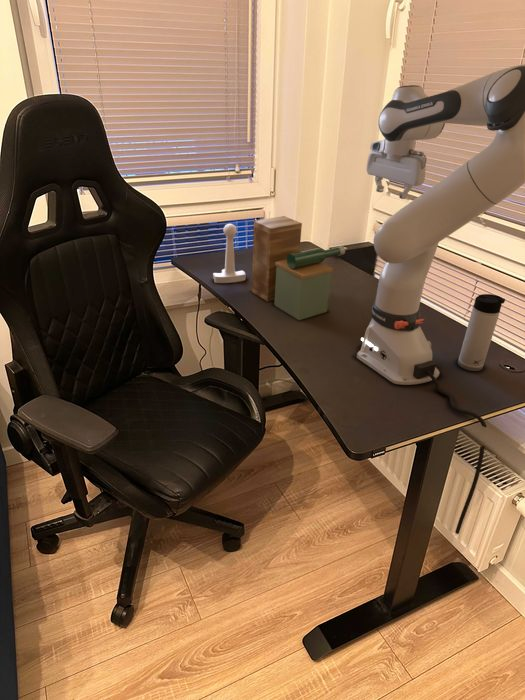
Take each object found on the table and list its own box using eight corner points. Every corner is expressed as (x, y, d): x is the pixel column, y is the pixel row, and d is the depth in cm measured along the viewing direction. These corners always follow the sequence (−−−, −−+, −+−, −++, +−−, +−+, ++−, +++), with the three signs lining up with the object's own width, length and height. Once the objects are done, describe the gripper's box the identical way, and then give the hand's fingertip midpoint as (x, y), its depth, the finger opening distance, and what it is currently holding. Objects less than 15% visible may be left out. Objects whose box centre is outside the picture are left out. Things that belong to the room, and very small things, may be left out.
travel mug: (479, 374, 130) (501, 304, 119) (454, 366, 133) (473, 296, 123) (486, 365, 134) (508, 296, 124) (462, 356, 137) (481, 288, 127)
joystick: (215, 283, 174) (215, 226, 164) (210, 275, 180) (210, 220, 170) (246, 281, 177) (248, 224, 167) (240, 273, 183) (241, 218, 173)
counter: (328, 311, 158) (333, 268, 151) (298, 320, 152) (302, 275, 145) (301, 297, 167) (305, 255, 160) (272, 305, 161) (275, 261, 154)
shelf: (296, 293, 169) (302, 223, 157) (267, 301, 163) (271, 228, 151) (280, 284, 175) (284, 216, 163) (251, 291, 169) (253, 220, 157)
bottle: (294, 271, 148) (296, 257, 145) (285, 265, 151) (287, 251, 148) (345, 259, 159) (348, 246, 156) (336, 254, 161) (338, 241, 159)
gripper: (434, 152, 143) (424, 201, 150) (380, 141, 157) (374, 187, 164) (420, 153, 139) (410, 204, 146) (366, 142, 154) (360, 189, 160)
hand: (391, 195), depth 155 cm, fingers open, 8 cm apart
